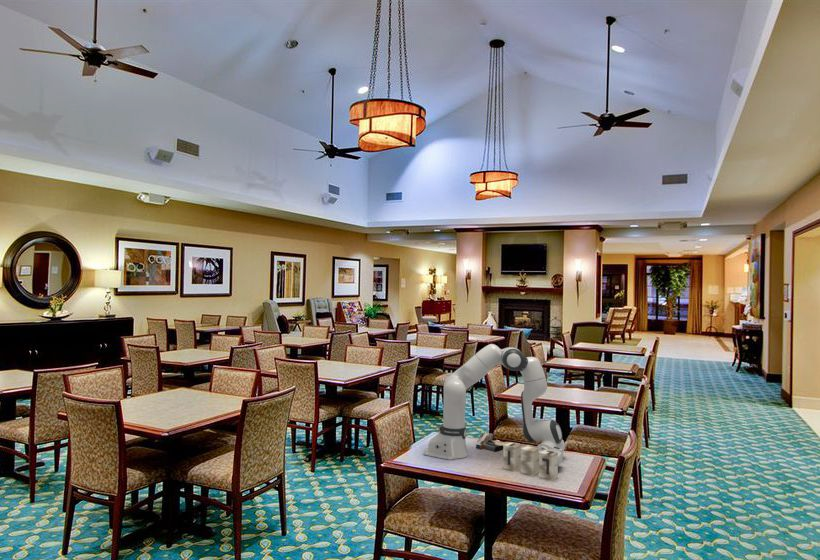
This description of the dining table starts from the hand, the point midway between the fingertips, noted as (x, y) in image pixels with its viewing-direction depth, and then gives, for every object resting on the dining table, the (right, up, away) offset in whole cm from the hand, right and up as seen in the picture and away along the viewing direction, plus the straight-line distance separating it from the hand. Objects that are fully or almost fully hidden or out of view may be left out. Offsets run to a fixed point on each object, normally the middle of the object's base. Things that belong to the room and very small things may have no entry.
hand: (532, 459), depth 237 cm
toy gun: (-12, -7, +44) cm, 46 cm away
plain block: (-2, -5, -3) cm, 6 cm away
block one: (-9, -6, +3) cm, 11 cm away
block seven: (+5, -5, -8) cm, 11 cm away
